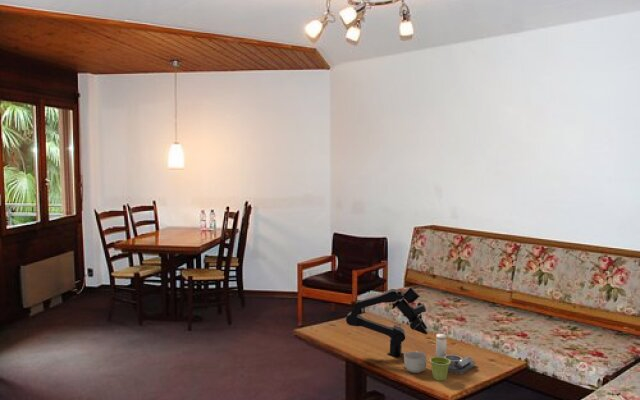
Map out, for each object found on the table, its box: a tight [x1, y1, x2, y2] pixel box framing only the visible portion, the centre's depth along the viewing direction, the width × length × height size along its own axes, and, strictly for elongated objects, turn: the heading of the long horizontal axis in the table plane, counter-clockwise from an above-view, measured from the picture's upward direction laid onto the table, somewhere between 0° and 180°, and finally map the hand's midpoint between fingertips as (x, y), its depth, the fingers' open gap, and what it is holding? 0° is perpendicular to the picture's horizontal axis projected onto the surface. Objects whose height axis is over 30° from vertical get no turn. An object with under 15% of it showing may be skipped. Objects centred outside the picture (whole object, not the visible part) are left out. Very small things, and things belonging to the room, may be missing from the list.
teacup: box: [403, 350, 427, 374], centre depth 265 cm, size 14×11×8 cm
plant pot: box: [429, 356, 450, 382], centre depth 254 cm, size 9×9×9 cm
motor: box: [444, 354, 476, 376], centre depth 270 cm, size 16×13×5 cm
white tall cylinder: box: [435, 333, 448, 358], centre depth 281 cm, size 5×5×12 cm
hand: (426, 331), depth 282 cm, fingers open, 9 cm apart
